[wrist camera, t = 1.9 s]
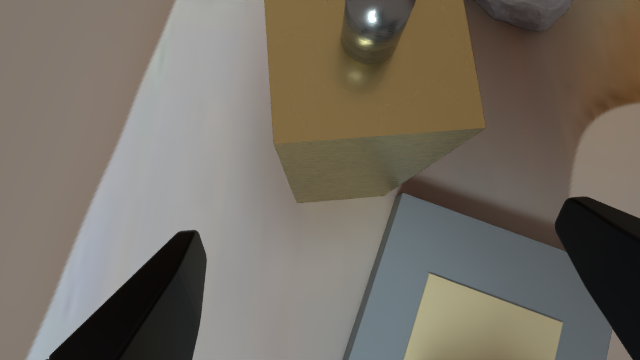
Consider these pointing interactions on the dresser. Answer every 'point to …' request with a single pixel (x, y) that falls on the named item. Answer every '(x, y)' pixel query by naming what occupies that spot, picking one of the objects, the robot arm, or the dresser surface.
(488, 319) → the press
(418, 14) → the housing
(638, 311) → the robot arm
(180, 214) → the dresser surface
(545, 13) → the stone block
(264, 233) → the dresser surface
